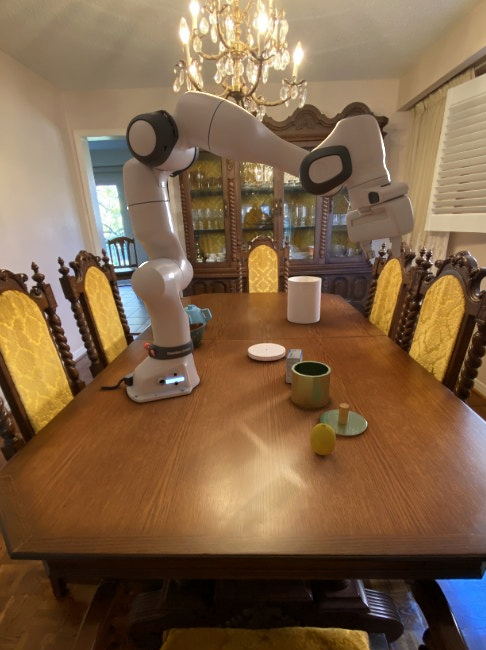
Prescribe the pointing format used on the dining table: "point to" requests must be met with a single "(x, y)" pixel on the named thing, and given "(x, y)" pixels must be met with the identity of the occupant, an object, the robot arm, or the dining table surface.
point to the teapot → (197, 314)
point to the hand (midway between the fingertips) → (382, 258)
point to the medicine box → (292, 362)
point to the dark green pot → (196, 333)
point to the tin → (310, 384)
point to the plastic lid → (266, 351)
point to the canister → (304, 299)
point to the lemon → (323, 439)
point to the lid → (344, 421)
